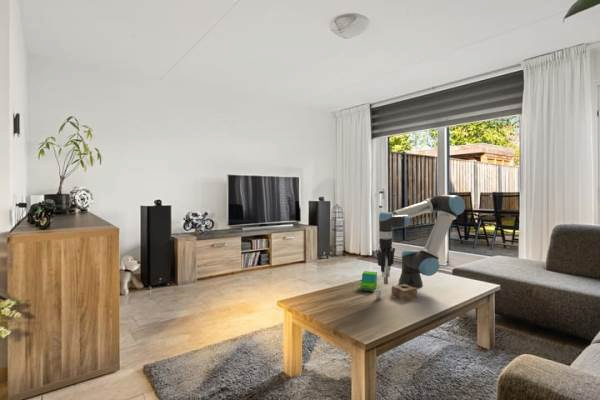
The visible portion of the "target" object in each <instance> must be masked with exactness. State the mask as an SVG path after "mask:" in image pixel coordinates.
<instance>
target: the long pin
mask: <svg viewBox="0 0 600 400" xmlns="http://www.w3.org/2000/svg"><path fill="white" fill-rule="evenodd" d="M385 267H386V278H384V277H383V285H388V284H389V281H388V280H389V277H388V258H387V257H385Z"/></svg>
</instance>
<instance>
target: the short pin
mask: <svg viewBox="0 0 600 400" xmlns="http://www.w3.org/2000/svg"><path fill="white" fill-rule="evenodd" d="M375 293H376V295H375V297H376V299H375V300H376V301H378V302H380V301H381V297H382V296H381V295H382V294H381V293H382V292H381V291H380V290H376V291H375Z"/></svg>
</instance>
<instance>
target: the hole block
mask: <svg viewBox="0 0 600 400" xmlns="http://www.w3.org/2000/svg"><path fill="white" fill-rule="evenodd" d="M391 297H394V298H396V299H398V300H400V301H403V302H406V301H411V300H416V299H417V298H418V288H414V287H412V286H409V285H406V284H401V285H400V284H395V285H392V286H391Z"/></svg>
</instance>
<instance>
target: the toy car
mask: <svg viewBox="0 0 600 400" xmlns="http://www.w3.org/2000/svg"><path fill="white" fill-rule="evenodd" d="M377 279H378V272H377V271H370V270H369V271H367V270H364V271H363V272H362V277H361V279H360V285H359V286H360V289H359V290H360V291H365V292H366V291H368V292H372V293H374V292H375V289H376V288H377V287H378V286H377V283H378V282H377V281H378V280H377Z"/></svg>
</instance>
